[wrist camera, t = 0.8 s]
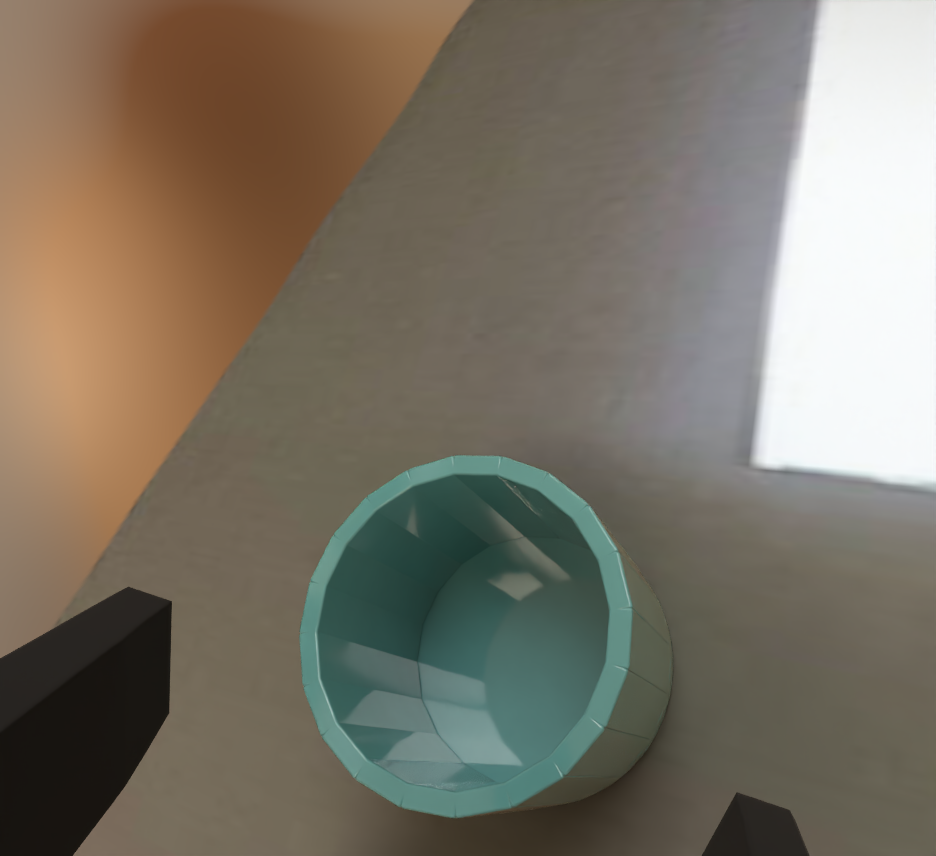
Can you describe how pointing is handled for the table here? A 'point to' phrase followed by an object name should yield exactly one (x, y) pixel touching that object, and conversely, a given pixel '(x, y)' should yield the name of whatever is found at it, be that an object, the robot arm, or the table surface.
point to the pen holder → (482, 643)
